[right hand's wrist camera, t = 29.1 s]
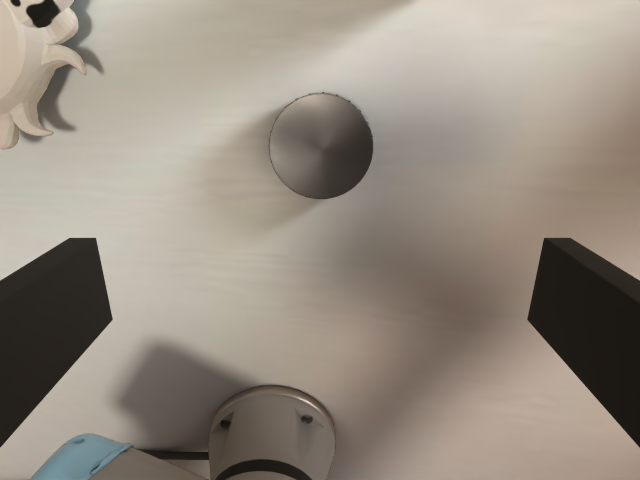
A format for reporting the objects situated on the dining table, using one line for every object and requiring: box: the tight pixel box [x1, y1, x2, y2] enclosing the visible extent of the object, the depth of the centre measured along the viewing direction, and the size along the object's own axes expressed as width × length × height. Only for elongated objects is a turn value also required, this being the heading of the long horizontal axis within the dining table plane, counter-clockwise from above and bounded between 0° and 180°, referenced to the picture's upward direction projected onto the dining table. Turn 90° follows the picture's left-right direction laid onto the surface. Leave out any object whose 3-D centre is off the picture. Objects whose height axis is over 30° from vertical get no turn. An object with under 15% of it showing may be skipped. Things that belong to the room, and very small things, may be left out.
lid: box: [269, 92, 373, 199], centre depth 38 cm, size 9×9×2 cm
